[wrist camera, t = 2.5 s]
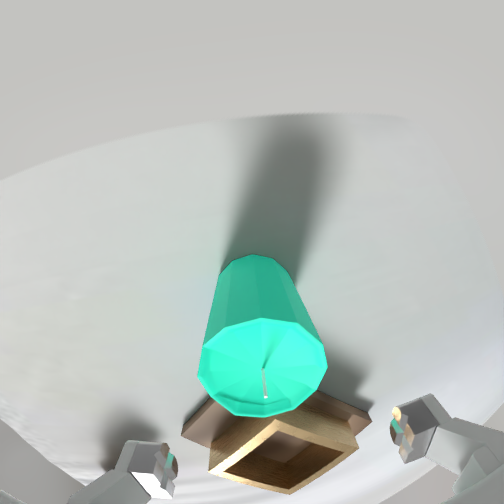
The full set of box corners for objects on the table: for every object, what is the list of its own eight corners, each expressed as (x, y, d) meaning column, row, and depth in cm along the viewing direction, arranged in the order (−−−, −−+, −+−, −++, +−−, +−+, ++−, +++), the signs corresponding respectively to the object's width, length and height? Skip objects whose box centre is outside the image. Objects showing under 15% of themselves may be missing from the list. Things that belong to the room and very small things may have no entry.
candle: (266, 238, 21) (295, 305, 10) (306, 301, 23) (357, 402, 11) (200, 281, 22) (162, 378, 10) (243, 338, 23) (245, 453, 12)
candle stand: (182, 425, 26) (174, 464, 20) (248, 354, 24) (250, 396, 18) (297, 468, 28) (303, 501, 23) (367, 412, 26) (384, 447, 21)
